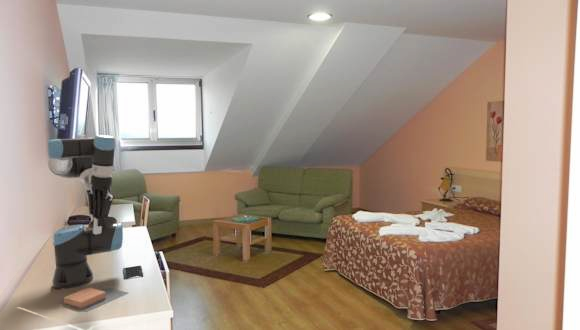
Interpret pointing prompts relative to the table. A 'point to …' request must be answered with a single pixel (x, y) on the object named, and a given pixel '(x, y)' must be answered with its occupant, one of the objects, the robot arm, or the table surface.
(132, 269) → the phone
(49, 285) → the table surface
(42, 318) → the table surface
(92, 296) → the tile
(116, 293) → the mat
